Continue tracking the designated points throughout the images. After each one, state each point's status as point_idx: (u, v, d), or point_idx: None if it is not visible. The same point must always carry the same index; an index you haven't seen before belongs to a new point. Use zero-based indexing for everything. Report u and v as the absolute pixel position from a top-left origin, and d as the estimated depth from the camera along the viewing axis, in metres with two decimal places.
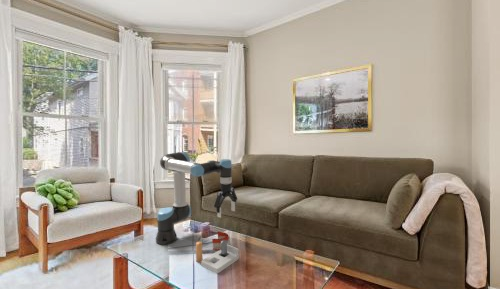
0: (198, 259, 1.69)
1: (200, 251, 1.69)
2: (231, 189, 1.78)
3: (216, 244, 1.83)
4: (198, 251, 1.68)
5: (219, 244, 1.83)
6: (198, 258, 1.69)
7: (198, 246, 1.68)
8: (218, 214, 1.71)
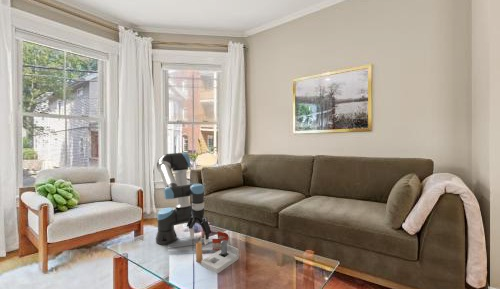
0: (198, 259, 1.69)
1: (200, 251, 1.69)
2: (203, 219, 1.64)
3: (216, 244, 1.83)
4: (198, 251, 1.68)
5: (219, 244, 1.83)
6: (198, 258, 1.69)
7: (198, 246, 1.68)
8: None
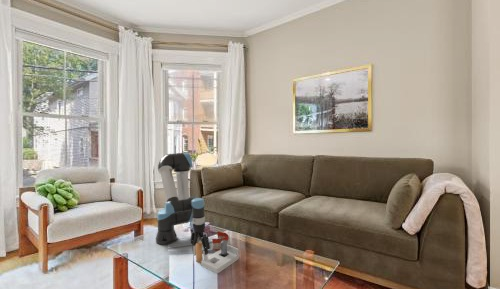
0: (198, 259, 1.69)
1: (200, 251, 1.69)
2: (204, 234, 1.65)
3: (216, 244, 1.83)
4: (198, 251, 1.68)
5: (219, 244, 1.83)
6: (198, 258, 1.69)
7: (198, 246, 1.68)
8: None
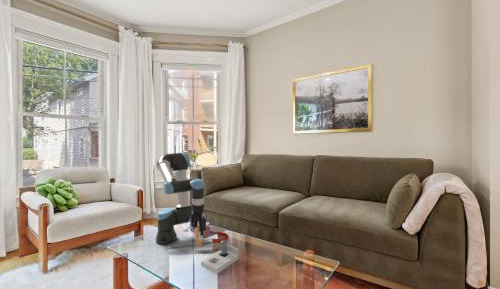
0: (198, 243, 1.68)
1: None
2: (202, 215, 1.64)
3: (216, 244, 1.83)
4: (198, 235, 1.67)
5: (219, 244, 1.83)
6: (198, 242, 1.68)
7: (198, 230, 1.67)
8: None
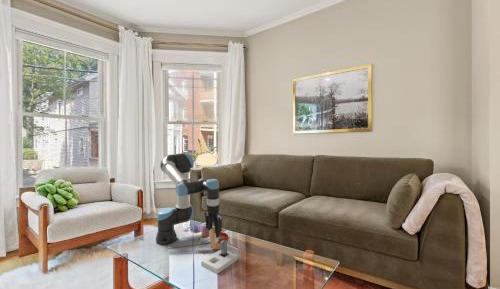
0: (213, 245, 1.63)
1: None
2: (218, 216, 1.59)
3: None
4: (213, 237, 1.62)
5: (219, 244, 1.83)
6: (213, 244, 1.63)
7: (213, 232, 1.62)
8: None
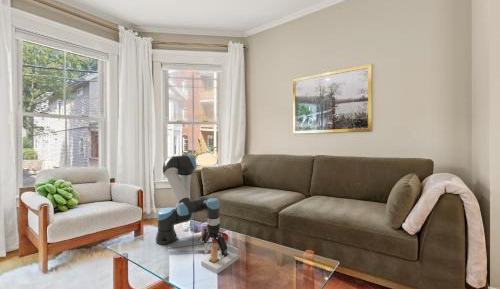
0: None
1: (215, 255, 1.64)
2: (218, 234, 1.61)
3: (216, 244, 1.83)
4: (213, 255, 1.64)
5: None
6: (213, 262, 1.64)
7: (213, 250, 1.63)
8: None
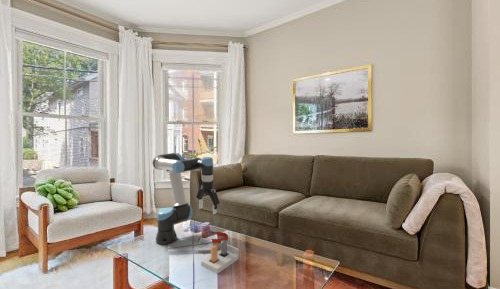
0: None
1: (215, 255, 1.64)
2: (212, 190, 1.73)
3: (215, 244, 1.83)
4: (213, 255, 1.64)
5: (218, 244, 1.83)
6: (213, 262, 1.64)
7: (213, 250, 1.63)
8: None
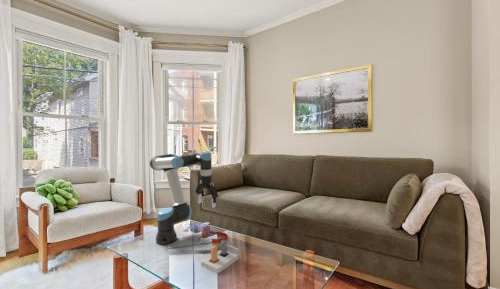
0: None
1: (215, 255, 1.64)
2: (210, 184, 1.77)
3: (215, 244, 1.83)
4: (213, 255, 1.64)
5: (218, 244, 1.83)
6: (213, 262, 1.64)
7: (213, 250, 1.63)
8: None
